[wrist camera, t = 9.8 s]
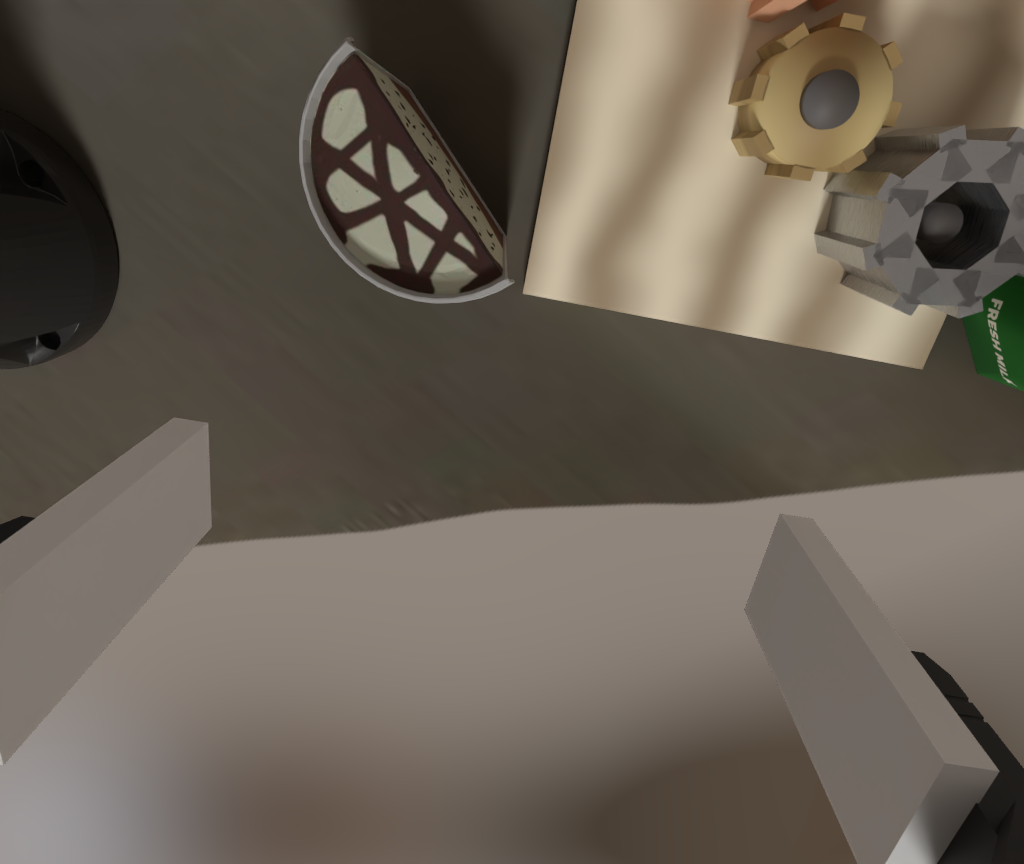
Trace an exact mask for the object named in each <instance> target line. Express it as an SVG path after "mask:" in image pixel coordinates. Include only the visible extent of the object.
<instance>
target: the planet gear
mask: <svg viewBox="0 0 1024 864" xmlns="http://www.w3.org/2000/svg"><path fill="white" fill-rule="evenodd" d="M748 1H749V2H750V3H751V5H750V9H749V12H748V16H747V18H749V19H753V20H758V21H762V22H766V23H769V22H771V21H773V20H774V19H776V18H778V17H779V16H781V15H783V14H785V13H786V12H788V11H790V10H791V9H793V8H795V7H796V6H798V5H800V4H802V3H803V2H805V1H807V0H748ZM811 1H812V3H813V5H814V8H815V10H816V12H817V11H819V10H821V9H823V8H825V7H827V6H829V5H830V4H832V3H834V2H836V1H838V0H811Z"/></svg>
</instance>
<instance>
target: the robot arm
mask: <svg viewBox="0 0 1024 864" xmlns="http://www.w3.org/2000/svg"><path fill="white" fill-rule="evenodd" d="M117 284H118V256H117V249H116V243H115V239H114V235H113V231H112V228H111V225H110V222H109V219H108V217H107V214H106V212H105V210H104V207H103V205H102V203H101V201H100V199H99V198H98V196H97V194H96V192H95V191H94V189H93V187H92V186H91V184H90V183H89V181H88V180H87V178H86V177H85V175H84V174H83V173H82V171H81V170H80V169H79V167H78V166H77V165H76V164H75V163H74V162H73V160H72V159H71V158H70V157H69V156H68V155H67V154H66V153H65V152H64V151H63V150H62V149H61V148H60V147H59V146H58V145H57V144H56V143H55V142H53V141H52V140H51V139H50V138H49V137H47V136H46V135H45V134H44V133H42V132H41V131H39V130H38V129H37V128H35V127H34V126H32V125H31V124H29V123H27V122H26V121H24V120H22V119H21V118H19V117H17V116H15V115H13V114H11V113H9V112H6V111H4V110H2V109H0V369H16V368H23V367H29V366H33V365H38V364H41V363H44V362H47V361H49V360H52V359H54V358H57V357H59V356H61V355H64V354H66V353H68V352H71V351H73V350H75V349H77V348H78V347H80V346H82V345H83V344H84V343H86V342H87V341H88V340H89V339H91V338H92V337H93V336H94V335H95V334H96V333H97V332H98V330H99V329H100V328H101V327H102V325H103V323H104V322H105V320H106V319H107V317H108V315H109V313H110V311H111V308H112V306H113V303H114V299H115V295H116V291H117ZM210 528H211V497H210V466H209V435H208V423H205V422H199V421H192V420H186V419H180V418H173V419H171V420H170V421H169V422H167V423H166V424H164V425H163V426H162V427H160V428H159V429H158V430H156V431H155V432H153V433H152V434H151V435H149V436H148V437H147V438H145V439H144V440H142V441H141V442H140V443H138V444H137V445H136V446H134V447H133V448H131V449H130V450H129V451H127V452H126V453H125V454H123V455H122V456H120V457H119V458H118V459H116V460H115V461H114V462H112V463H111V464H109V465H108V466H107V467H105V468H104V469H103V470H101V471H100V472H98V473H97V474H96V475H94V476H93V477H92V478H90V479H89V480H87V481H86V482H85V483H83V484H82V485H81V486H79V487H78V488H76V489H75V490H74V491H72V492H71V493H70V494H68V495H67V496H65V497H64V498H63V499H61V500H60V501H59V502H57V503H56V504H54V505H53V506H52V507H50V508H49V509H48V510H46V511H45V512H43V513H42V514H41V515H39V516H38V517H37V518H32V517H26V516H21V517H18V518H16V519H13V520H11V521H8V522H6V523H3V524H1V525H0V765H4V764H5V763H6V762H7V761H8V760H9V758H10V757H11V756H12V755H13V753H15V752H16V750H17V749H18V748H19V747H20V746H21V745H22V743H23V742H24V741H25V740H26V739H27V738H28V737H29V735H30V734H31V733H32V732H33V731H34V730H35V729H36V727H37V726H38V725H39V724H40V723H41V722H42V721H43V719H44V718H45V717H46V716H47V715H48V714H49V713H50V711H51V710H52V709H53V708H54V707H55V706H56V705H57V703H58V702H59V701H60V700H61V699H62V698H63V697H64V695H65V694H66V693H67V692H68V691H69V690H70V688H71V687H72V686H73V685H74V684H75V683H76V682H77V681H78V679H79V678H80V677H81V676H82V675H83V674H84V673H85V671H86V670H87V669H88V668H89V667H90V666H91V665H92V663H93V662H94V661H95V660H96V659H97V658H98V657H99V655H100V654H101V653H102V652H103V651H104V650H105V648H106V647H107V646H108V645H109V644H110V643H111V641H112V640H113V639H114V638H115V637H116V636H117V635H118V634H119V632H120V631H121V630H122V629H123V628H124V627H125V625H126V624H127V623H128V622H129V621H130V620H131V619H132V617H133V616H134V615H135V614H136V613H137V612H138V611H139V610H140V608H141V607H142V606H143V605H144V604H145V603H146V602H147V600H148V599H149V598H150V597H151V596H152V595H153V594H154V592H155V591H156V590H157V589H158V588H159V586H160V585H161V584H162V583H163V582H164V581H165V580H166V579H167V577H168V576H169V575H170V574H171V573H172V572H173V570H174V569H175V568H176V567H177V566H178V565H179V564H180V563H181V562H182V560H183V559H184V558H185V557H186V556H187V555H188V554H189V552H190V551H191V550H192V549H193V548H194V547H195V545H196V544H197V543H198V542H199V541H200V540H201V539H202V537H203V536H204V535H205V534H206V533H207V532H208V531H209V529H210ZM744 610H745V612H746V614H747V617H748V619H749V621H750V623H751V625H752V627H753V630H754V632H755V634H756V637H757V639H758V641H759V643H760V646H761V648H762V650H763V652H764V655H765V657H766V659H767V661H768V664H769V666H770V668H771V670H772V673H773V675H774V677H775V679H776V682H777V684H778V686H779V688H780V690H781V693H782V695H783V697H784V700H785V702H786V704H787V706H788V708H789V711H790V713H791V715H792V717H793V720H794V722H795V724H796V726H797V729H798V731H799V733H800V735H801V738H802V740H803V742H804V744H805V747H806V749H807V751H808V753H809V756H810V758H811V760H812V762H813V765H814V767H815V769H816V771H817V774H818V776H819V778H820V780H821V782H822V785H823V787H824V789H825V792H826V794H827V796H828V798H829V800H830V803H831V805H832V807H833V810H834V812H835V814H836V816H837V818H838V821H839V823H840V825H841V827H842V830H843V832H844V834H845V836H846V838H847V841H848V843H849V845H850V848H851V850H852V852H853V854H854V857H855V859H856V861H857V863H858V864H1024V768H1023V767H1022V766H1021V765H1020V763H1019V762H1018V761H1017V759H1016V758H1015V757H1014V756H1013V754H1012V753H1011V752H1010V751H1009V749H1008V748H1007V747H1006V746H1005V744H1004V743H1003V742H1002V741H1001V739H1000V738H999V736H998V735H997V734H996V733H995V731H994V730H993V729H992V728H991V726H990V725H989V724H988V723H986V722H984V721H983V719H984V717H983V716H982V715H981V714H980V712H979V711H978V710H977V708H976V707H975V706H974V705H973V703H969V702H968V697H967V696H966V694H965V693H964V692H963V690H962V689H961V688H960V687H959V685H958V684H957V683H956V682H955V680H954V679H953V678H952V676H951V675H950V674H949V673H947V672H946V671H945V670H944V669H942V668H941V667H940V666H939V665H938V664H937V663H935V662H934V661H933V660H932V659H930V658H929V657H928V656H926V654H924V653H920V652H915V651H910V650H909V648H908V647H907V646H906V644H905V643H904V642H903V640H902V639H901V638H900V636H899V635H898V633H897V632H896V631H895V629H894V628H893V627H892V625H891V624H890V623H889V621H888V620H887V619H886V618H885V616H884V615H883V613H882V612H881V610H880V609H879V608H878V606H877V605H876V604H875V602H874V601H873V600H872V598H871V597H870V596H869V594H868V593H867V592H866V590H865V589H864V588H863V586H862V585H861V584H860V582H859V581H858V579H857V578H856V577H855V575H854V574H853V573H852V571H851V570H850V569H849V568H848V566H847V565H846V563H845V562H844V561H843V559H842V558H841V557H840V555H839V554H838V552H837V551H836V550H835V549H834V547H833V546H832V544H831V543H830V542H829V540H828V539H827V538H826V536H825V535H824V534H823V532H822V531H821V530H820V528H819V527H818V526H817V524H816V523H815V521H814V520H813V519H810V518H803V517H797V516H791V515H784V514H780V515H779V518H778V521H777V523H776V526H775V529H774V531H773V534H772V537H771V539H770V542H769V545H768V548H767V550H766V553H765V556H764V558H763V561H762V564H761V566H760V569H759V572H758V574H757V577H756V580H755V583H754V585H753V588H752V591H751V593H750V596H749V599H748V601H747V604H746V607H745V609H744Z"/></svg>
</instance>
